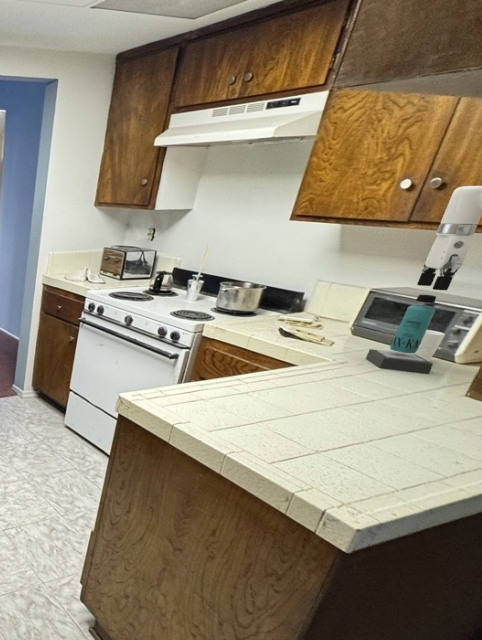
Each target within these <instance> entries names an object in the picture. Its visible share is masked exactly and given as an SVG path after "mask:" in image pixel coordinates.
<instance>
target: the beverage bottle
mask: <svg viewBox="0 0 482 640" xmlns="http://www.w3.org/2000/svg"><path fill="white" fill-rule="evenodd" d="M436 300H437V296H436V295H432V294H418V295H417V298H416V300H415V301H416V302H420V303H429V304H434V303H436ZM435 309H436V308H434V307H433V306H431V305H425V304H412V305H409V306H408V307H407V309H406V311H405V313H404V316H403V318H402V320H401V321H400V324H399V326H398V328H397V330H396V332H395V335H394V337H393V339H392V340H391V342H390V345H389V349H390V351H393V352H402V353H415V352H416V351H418V347H419V345H420V344H421V341H422V340H423V337H424V334H425V332H426V330H428V329H429V325H430V324H431V321H432V319H433V317H434V315H435V313H436V310H435Z"/></svg>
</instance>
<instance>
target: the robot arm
mask: <svg viewBox="0 0 482 640" xmlns="http://www.w3.org/2000/svg"><path fill="white" fill-rule="evenodd" d="M481 218H482V185H463V186H459V187H457V188H456V189H454V190H453V192H452V194H451V197H450V199H449V201H448V203H447V206H446V208H445V210H444V214H443V216H442V218H441V221H440V224H439V226H438V229H437V230H436V233H435V235H436V238H435V240H434V242H433V244H432V246H431V248H430V250H429V252H428V254H427V257H426V258H425V263H424V265H423V269H422V270H421V274H420V277H419V278H418V280H417V283H416V285H417V286H420V287H421V286H423V287H431V286H432V285H433V286H432V290H434V291H448V289H449V287H450V285H451V283H452V281H453V279H454V277H455V275H456V273H457V272H458V271H459V270H461V269H462V267H463V264H464V261H465V260H466V256H467V254H468V251H469V248H470V245H471V240H472V237H473V236H474V234H475V231H476V230H477V227H478V224H479V223H480V219H481ZM438 270H439V275H438V276H437V277H436V275H437V271H438ZM435 277H436V279H435ZM434 280H435V282H434ZM433 282H434V284H433Z"/></svg>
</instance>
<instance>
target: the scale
mask: <svg viewBox="0 0 482 640" xmlns="http://www.w3.org/2000/svg"><path fill="white" fill-rule="evenodd" d="M377 350H378V349H372V348H369V350H368V353H367V354H366V357H365V360H367V361H368V362H370V363H371V364H373V365H374V366H376V367H377V368H379V369H382V370H389V371H390V370H391V371H400V372H407V373H415V372H416V374H424V375H430V372H431V370H432V367H433V365H434V363H433V362H431V361H430V362H429V361H427V360H425V359H423V358H421V357H420V356H418V355H416V354H414V355H416V356H417V357H419V358H421V359H423V360H425V362H420V361H411V360H402V359H393V358H387V357H385V356H383V355H382V354H380V353H379V352H377Z"/></svg>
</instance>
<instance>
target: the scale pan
mask: <svg viewBox="0 0 482 640" xmlns="http://www.w3.org/2000/svg"><path fill="white" fill-rule="evenodd" d="M376 350H377V352H379V353H380V354H382V355H383V356H385V357H387V358H393V359H402V360H411V361H420V362H425V360H423V359H421V358H419V357H417V356H416V355H414V354H411V353H403V352H397V351H393V350H383V349H376Z"/></svg>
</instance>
